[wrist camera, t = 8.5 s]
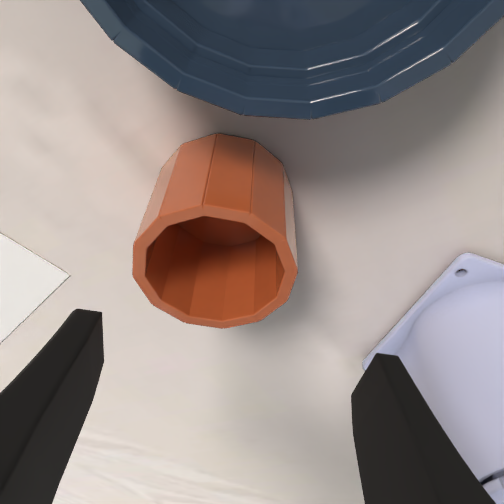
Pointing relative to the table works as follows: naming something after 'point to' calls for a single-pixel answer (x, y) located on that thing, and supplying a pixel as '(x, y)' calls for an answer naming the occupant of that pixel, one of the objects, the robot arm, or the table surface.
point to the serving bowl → (294, 48)
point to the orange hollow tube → (218, 234)
